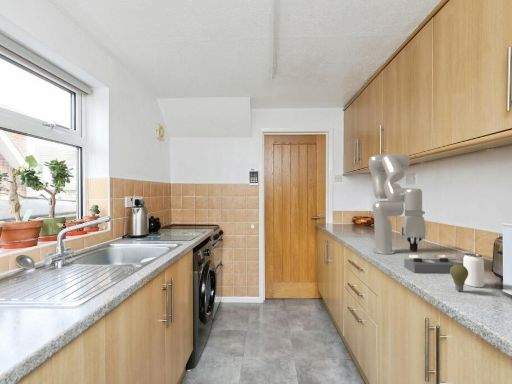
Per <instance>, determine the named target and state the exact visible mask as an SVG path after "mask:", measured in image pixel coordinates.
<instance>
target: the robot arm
mask: <svg viewBox="0 0 512 384" xmlns="http://www.w3.org/2000/svg"><path fill="white" fill-rule="evenodd" d="M410 164H411V161H410V157H409V156H408V155H407V154H405V153H389V154H375V155H372V156H370V157H369V159H368V169H369V172H370V175H371V178H372V189H373V194H374V197H375V198H376V199H379V200H377V201H375V202H374V203H372V213H373V219H374V248H372V252H373V253H376V254H380V255H381V254H382V255H392V254H396V251H395V250H394V249H393V236H392V235H393V231H392V230H393V228H392V221H391V220H390V219H389V217H399V216H400V217H401V216H402V215H403V214H404V216H402V219H401V226H400V235H401V239H402V240H405V241H407V242H408V243H409V251H410V252H413V253H414V252H415V253H417V252H418V250H419V249H418V248H419V247H418V244H420V241H423V240H425V239H427V238H426V236H427V229H426V221H425V218H424V216H423V215H425V214H426V212H425V211H424V210H423V190H422V189H421V188H414V187H402V186H401V185H400V184H398V183H397V182H400V181H401V180H402V179H403V178H404V177H405V175H406V174H405V171H404V169H407V168H408V167H410ZM383 169H384V170H383ZM383 199H384V200H383ZM385 199H387V200H385Z"/></svg>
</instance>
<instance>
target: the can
mask: <svg viewBox="0 0 512 384" xmlns="http://www.w3.org/2000/svg"><path fill="white" fill-rule="evenodd" d="M462 260H463V261H462V262H463V266H464V267H465V268H466V269H467V270H468V277H467V279H466V280H465V283H464V285H466V286H468V287H473V288H477V289H478V288H484V287H485V260H484V258H483V255H482V254H479V253H471V252H469V253H468V252H467V253H464V256H463V259H462Z"/></svg>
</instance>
